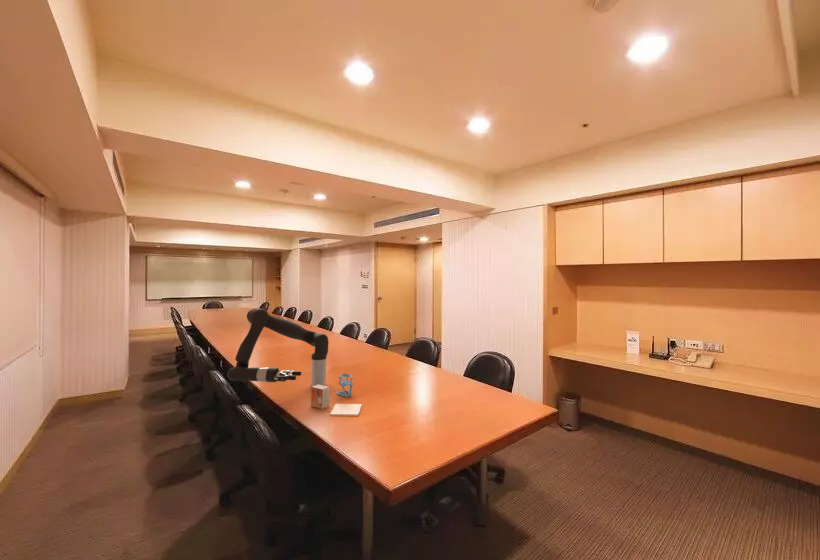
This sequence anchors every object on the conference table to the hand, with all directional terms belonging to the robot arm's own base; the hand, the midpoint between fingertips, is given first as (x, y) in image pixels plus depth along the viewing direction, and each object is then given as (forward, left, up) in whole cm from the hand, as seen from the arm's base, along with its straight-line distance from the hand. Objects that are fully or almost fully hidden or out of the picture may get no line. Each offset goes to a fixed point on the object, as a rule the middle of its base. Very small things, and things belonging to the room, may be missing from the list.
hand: (298, 375), depth 180 cm
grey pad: (+5, +27, -16) cm, 32 cm away
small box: (0, +12, -16) cm, 20 cm away
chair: (-19, +22, -16) cm, 33 cm away
